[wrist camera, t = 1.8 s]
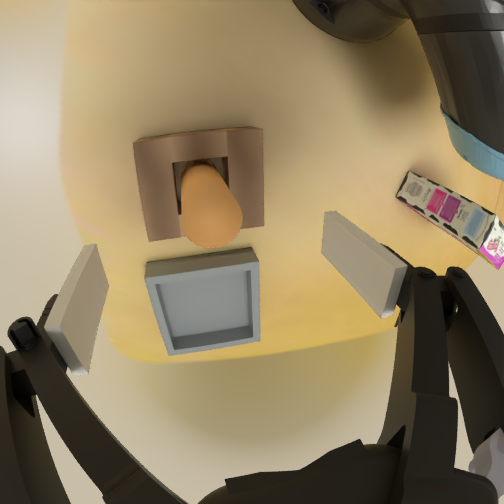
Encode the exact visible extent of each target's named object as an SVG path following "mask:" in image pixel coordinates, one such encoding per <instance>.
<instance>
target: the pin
mask: <svg viewBox="0 0 504 504" xmlns="http://www.w3.org/2000/svg"><path fill="white" fill-rule="evenodd" d="M181 206H182V226H183V230H184V232H185V234H186V236H187V237H188V238H189V239H190V240H191V241H192V242H193V243H195V244H196V245H198V246H201V247H205V248H216V247H220V246H223V245H225V244H227V243H229V242H230V241H232V240H233V239H234V238H235V237H236V235H237V234H238V232H239V231H240V229H241V226H242V221H243V216H242V211H241V208H240V206H239V204H238V203H237V201H236V199H235V198H234V196H233V194H232V193H231V191H230V190H229V188H228V186H227V185H226V183H225V182H224V180H223V178H222V177H221V175H220V174H219V172H218V170H217V169H216V167H215V166H214V164H213V163H211V162H210V161H208V160H206V159H197V160H191V161H190V162H188V163H187V164H186V165H185V166H184V168H183V170H182V173H181Z"/></svg>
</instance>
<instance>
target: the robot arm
mask: <svg viewBox="0 0 504 504" xmlns="http://www.w3.org/2000/svg"><path fill="white" fill-rule="evenodd" d="M293 1H294V3H295V4H296V6H297V7H298V8H299V10H300V11H301V12H302V13H303V14H304V15H305V16H306V17H307V18H308V19H309V20H310V21H311V22H312V23H313V24H315V25H316V26H317V27H319V28H320V29H322V30H323V31H325V32H327V33H328V34H330V35H332V36H334V37H337V38H339V39H342V40H346V41H350V42H359V43H360V42H369V41H374V40H379V39H382V38H384V37H386V36H388V35H390V34H391V33H392V32H393V31H394V30H395V29H396V28H397V27H399V26H400V25H402V24H403V23H404V22H406V21H407V20H408V19H411V20H412V22H413V24H414V26H415V29H416V31H417V34H418V36H419V39H420V41H421V44H422V46H423V49H424V51H425V54H426V56H427V59H428V62H429V65H430V67H431V70H432V73H433V76H434V79H435V83H436V86H437V89H438V93H439V96H440V100H441V105H440V109H441V112H442V114H443V116H444V117H445V120H446V124H447V128H448V132H449V136H450V139H451V142H452V144H453V146H454V148H455V149H456V151H457V152H458V154H459V155H460V156H461V157H462V158H464V160H466V161H467V162H469V163H470V164H471V165H472V166H473V167H475V168H476V169H478V170H480V171H481V172H483V173H485V174H487V175H490V176H492V177H494V178H497V179H500V180H503V181H504V0H293ZM321 253H322V254H323V255H324V256H325V257H326V258H327V260H328V261H329V262H330V263H331V264H332V265H333V266H334V267H335V268H336V269H337V270H338V271H339V272H340V274H341V275H342V276H343V277H344V278H345V279H346V280H347V281H348V282H349V283H350V284H351V286H352V287H353V288H354V289H355V290H356V291H357V292H358V293H359V294H360V296H361V297H362V298H363V299H364V300H365V301H366V302H367V303H368V305H369V306H370V307H371V308H372V309H373V310H374V311H375V312H376V314H377V315H378V316H379V317H380V318H384V317H387V316H390V315H393V313H394V310H395V307H396V304H397V305H398V306H399V307H400V308H401V310H400V313H399V316H398V318H397V321H396V324H395V327H397V325H398V333H397V343H396V353H395V361H394V370H393V377H392V383H391V390H390V396H389V402H388V407H387V412H386V417H385V422H384V426H383V430H382V433H381V436H380V438H379V440H378V442H377V444H366V445H363V443H362V442H361V440H360V439H358V440H356V441H353V442H351V443H349V444H346V445H344V446H341V447H339V448H336V449H334V450H331V451H329V452H328V453H326V454H325V455H323V456H322V457H320V458H319V459H317V460H315V461H314V462H312V463H311V464H309V465H307V466H306V467H304V468H302V469H300V470H294V471H279V472H258V473H254V474H249V475H244V476H239V477H234V478H228V479H225V482H226V485H225V486H223V487H220V488H218V489H217V490H215V491H213V492H211V493H210V494H208V495H207V496H205V497H204V498H203V499H202V500H201V501H200V502H199V503H198V504H498V499H499V498H500V497H501V496H502V495H503V494H504V334H503V332H502V330H501V328H500V326H499V324H498V322H497V321H496V319H495V317H494V315H493V313H492V312H491V310H490V308H489V307H488V305H487V303H486V302H485V300H484V298H483V297H482V295H481V293H480V292H479V290H478V289H477V287H476V286H475V284H474V282H473V281H472V279H471V278H470V276H469V275H468V274H467V273H466V271H464V270H463V269H462V268H459V267H449V268H448V269H447V272H446V275H445V276H437V275H436V273H435V272H434V271H432V270H430V269H428V268H425V267H416V268H415V267H413V266H412V265H411V264H410V263H408V262H407V261H406V260H405V259H403V258H402V257H400V255H398V254H397V253H395V251H393V250H392V249H391V248H389V247H388V246H385V245H383V244H381V243H379V242H377V241H376V240H375V239H373V238H372V237H371V236H369V235H368V234H367V233H365V232H364V231H363V230H361V229H360V228H359V227H357V226H356V225H355V224H353V223H352V222H351V221H349V220H348V219H346V218H345V217H344V216H342V215H341V214H339V213H338V212H337V211H329V212H325V213H324V226H323V238H322V249H321ZM108 288H109V284H108V281H107V278H106V275H105V271H104V268H103V265H102V262H101V259H100V255H99V252H98V248H97V245H96V244H91V245H86V246H84V247H83V249H82V250H81V252H80V254H79V256H78V258H77V259H76V261H75V263H74V265H73V267H72V269H71V271H70V273H69V274H68V276H67V278H66V280H65V282H64V285H63V286H62V288H61V290H60V292H59V294H55V295H53V296H52V297H51V299H50V300H49V301H48V302H47V304H46V306H45V308H44V309H45V310H44V311H43V313H42V316H41V317H40V319H39V322H38V323H37V326H36V325H35V324H34V322H33V320H32V319H31V318H30V317H21V318H19V319H17V320H16V321H15V322H13V323H12V325H11V326H10V327H9V329H8V337H9V339H10V340H11V342H12V343H13V345H14V346H15V348H16V349H17V350H15V351H12V352H10V353H6V352H5V350H4V349H3V347H1V346H0V504H71V503H70V501H69V499H68V496H67V494H66V492H65V490H64V487H63V485H62V482H61V480H60V478H59V475H58V472H57V470H56V467H55V464H54V461H53V459H52V456H51V453H50V450H49V446H48V443H47V440H46V436H45V433H44V429H43V426H42V422H41V418H40V414H39V409H38V405H37V401H36V395H37V396H38V398H39V400H40V402H41V403H42V405H43V407H44V409H45V411H46V413H47V414H48V416H49V418H50V420H51V422H52V423H53V425H54V427H55V428H56V430H57V431H58V433H59V435H60V436H61V438H62V440H63V441H64V443H65V444H66V446H67V447H68V448H69V450H70V451H71V453H72V454H73V456H74V457H75V459H76V460H77V462H78V463H79V464H80V466H81V467H82V468H83V470H84V471H85V472H86V474H87V475H88V476H89V477H90V479H91V480H92V481H93V482H94V483H95V485H96V486H97V487H98V488H99V490H100V491H101V492H102V494H103V497H102V498H103V500H104V502H105V503H106V504H188V503H187V502H185V501H184V500H183V499H181V498H180V497H179V496H178V495H176V494H175V493H174V492H172V491H171V490H170V489H169V488H167V487H166V486H165V485H164V484H163V483H162V482H160V481H159V480H158V479H157V478H156V477H155V476H154V475H153V474H151V473H150V472H149V471H148V470H147V469H146V468H145V467H144V466H143V465H141V464H140V463H139V461H138V460H137V459H135V458H134V456H133V455H132V454H130V453H129V451H128V450H127V449H126V448H125V447H124V446H123V445H122V444H121V443H120V442H119V441H118V440H117V438H116V437H115V436H114V435H113V434H112V433H111V432H110V431H109V429H108V428H107V427H106V426H105V425H104V424H103V423H102V421H101V420H100V419H99V418H98V416H97V415H96V414H95V413H94V411H93V410H92V409H91V408H90V406H89V405H88V404H87V402H86V401H85V400H84V398H83V397H82V396H81V395H80V393H79V392H78V390H77V389H76V387H75V386H74V385H73V383H72V382H71V380H70V379H69V377H68V376H67V374H66V371H67V367H69V369H70V370H71V372H72V373H73V375H86V374H87V375H88V374H89V369H90V363H91V358H92V353H93V348H94V343H95V339H96V334H97V330H98V326H99V322H100V318H101V314H102V310H103V306H104V302H105V299H106V295H107V291H108ZM457 307H458V310H457V312H456V309H457ZM448 361H449V364H450V368H451V371H452V374H453V378H454V381H455V385H456V388H457V392H458V396H459V400H460V404H461V408H462V413H463V417H464V422H465V427H466V432H467V436H468V440H469V443H470V446H471V449H472V452H473V454H474V459H473V460H472V461H471V462H470V464H469V471H470V472H468V471H464V470H460V469H457V468H454V463H455V454H456V442H457V426H458V403H457V400H456V398H451V397H450V396H449V367H448Z"/></svg>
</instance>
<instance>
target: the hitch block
mask: <svg viewBox="0 0 504 504" xmlns="http://www.w3.org/2000/svg"><path fill="white" fill-rule="evenodd" d="M133 148H134V156H135V164H136V171H137V178H138V185H139V191H140V197H141V203H142V209H143V214H144V220H145V225H146V230H147V235H148V240H149V242H151V241H158V240H165V239H172V238H179V237H186V234H185V232H184V230H183V226H182V206H181V202H178V196H177V188H176V180H175V171H174V162H181V161H189V160H197V159H206V158H215V157H222V163H223V179H224V182H225V183H226V185H227V186H228V188H229V190H230V191H231V193H232V194H233V196H234V198H235V199H236V201H237V203H238V204H239V206H240V208H241V211H242V216H243V221H242V226H241V229H244V228H252V227H260V226H264V178H263V130H262V129H259V128H255V127H242V128H226V129H214V130H203V131H193V132H185V133H177V134H169V135H162V136H155V137H149V138H143V139H139V140H137V141H136V142H134V143H133Z"/></svg>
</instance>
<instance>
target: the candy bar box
mask: <svg viewBox="0 0 504 504" xmlns="http://www.w3.org/2000/svg"><path fill="white" fill-rule="evenodd" d="M396 198H397V199H399V200H400V201H401V202H403V203H404V204H406V205H407V206H409V207H410V208H411V209H413V210H414V211H416V212H417V213H418V214H420V215H421V216H423V217H424V218H425V219H427V220H428V221H430V222H431V223H433V224H434V225H436V226H437V227H439V228H441V229H442V230H444V231H445V232H447V233H448V234H449V235H451V236H452V237H454V238H455V239H457V240H458V241H460V242H461V243H463V244H464V245H465V246H467V247H468V248H470V249H471V250H472V251H474V252H475V253H477V254H478V255H479V256H481V257H482V258H483V259H485V260H486V261H487V262H489V263H490V264H491V265H493V266H494V267H495V268H496V269H498V270H499V269H500V267H501V265H502V263H503V262H504V226H503V224H502V223H501V221H500V219H499V218H498V216H497V215H496V214H494V213H492V212H490V211H489V210H487V209H485V208H483V207H482V206H480V205H478V204H476V203H474V202H473V201H471V200H469V199H467V198H465V197H463V196H461V195H459V194H458V193H456V192H453V191H451V190H449V189H447V188H445V187H443V186H441V185H439V184H437V183H435V182H433V181H431V180H428V179H426V178H424V177H422V176H419V175H417V174H415V173H413V172H411V171H409V172H408V174H407V176H406V178H405V180H404V182H403V184H402V186H401V188H400V190H399V192H398V194H397V196H396Z"/></svg>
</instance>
